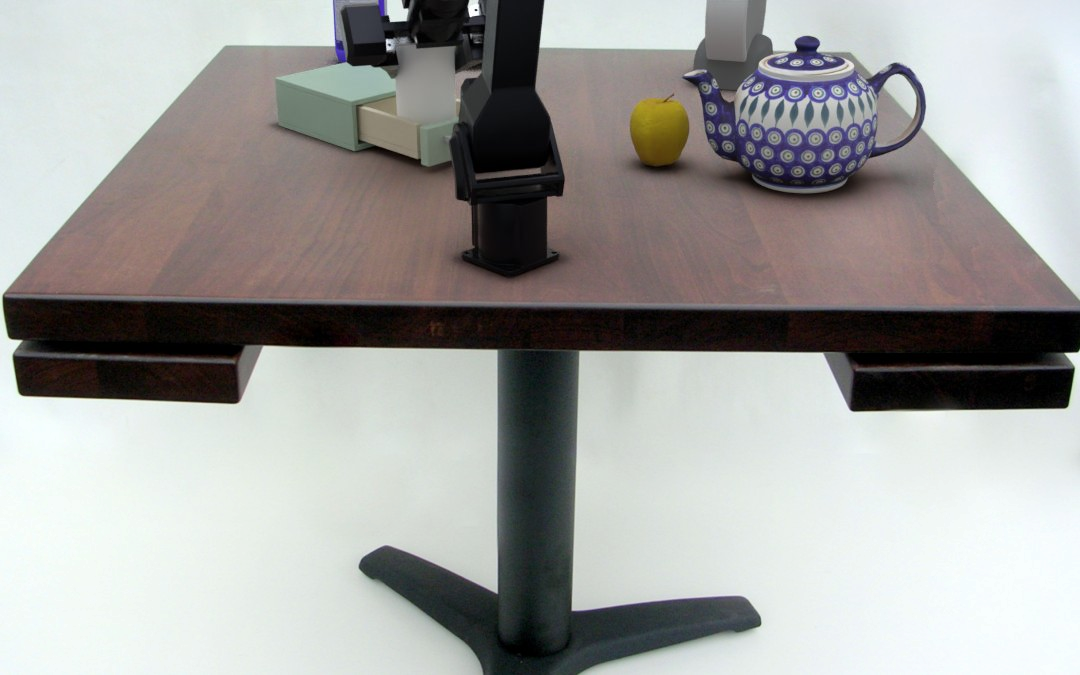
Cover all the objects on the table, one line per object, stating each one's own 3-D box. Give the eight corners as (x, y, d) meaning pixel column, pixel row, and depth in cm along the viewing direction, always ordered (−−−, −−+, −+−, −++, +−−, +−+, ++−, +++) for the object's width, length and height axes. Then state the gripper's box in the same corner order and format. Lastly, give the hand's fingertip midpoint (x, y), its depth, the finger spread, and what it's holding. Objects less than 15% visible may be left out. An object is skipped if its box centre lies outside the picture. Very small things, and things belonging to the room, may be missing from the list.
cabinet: (437, 128, 159) (435, 80, 157) (354, 151, 151) (351, 101, 149) (360, 105, 168) (358, 59, 166) (278, 125, 160) (274, 77, 158)
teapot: (904, 157, 149) (920, 21, 143) (932, 204, 136) (952, 56, 129) (674, 153, 150) (680, 18, 144) (680, 199, 137) (687, 52, 131)
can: (386, 137, 150) (380, 28, 145) (419, 123, 155) (414, 16, 150) (436, 146, 147) (432, 34, 142) (467, 131, 152) (465, 22, 147)
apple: (697, 171, 145) (701, 97, 142) (640, 176, 143) (643, 102, 140) (675, 153, 151) (678, 82, 147) (620, 158, 149) (622, 86, 146)
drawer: (533, 153, 148) (533, 117, 146) (458, 177, 141) (457, 138, 139) (424, 120, 159) (423, 86, 158) (349, 140, 152) (347, 104, 150)
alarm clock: (707, 60, 188) (714, -77, 181) (781, 65, 186) (792, -74, 178) (681, 89, 175) (687, -58, 167) (760, 96, 172) (771, -53, 164)
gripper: (517, -84, 140) (490, 4, 154) (335, -76, 135) (325, 15, 149) (539, 9, 136) (510, 90, 151) (353, 20, 131) (342, 104, 146)
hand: (422, 72), depth 149 cm, fingers closed on can, 6 cm apart
